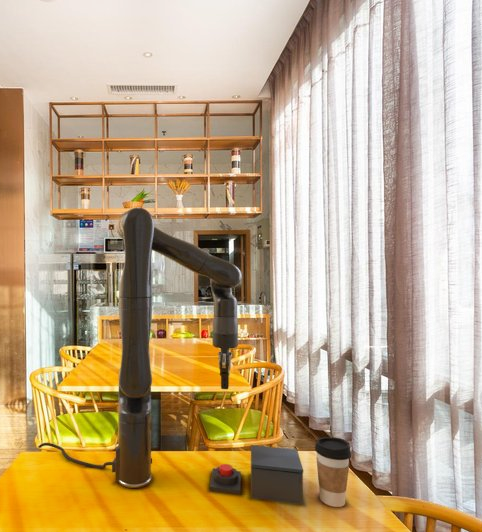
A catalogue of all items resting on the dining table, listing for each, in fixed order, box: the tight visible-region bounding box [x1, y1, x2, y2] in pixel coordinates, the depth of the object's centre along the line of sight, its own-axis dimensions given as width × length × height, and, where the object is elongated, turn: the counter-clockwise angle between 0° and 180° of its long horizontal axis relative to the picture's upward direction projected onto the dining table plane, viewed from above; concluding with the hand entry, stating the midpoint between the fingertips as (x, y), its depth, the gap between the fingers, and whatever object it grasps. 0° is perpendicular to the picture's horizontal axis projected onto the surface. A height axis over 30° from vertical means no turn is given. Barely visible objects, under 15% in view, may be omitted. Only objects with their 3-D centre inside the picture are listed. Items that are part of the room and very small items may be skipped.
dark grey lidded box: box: [250, 466, 304, 506], centre depth 107 cm, size 12×13×8 cm
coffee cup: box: [314, 436, 352, 508], centre depth 102 cm, size 8×8×15 cm
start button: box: [218, 463, 234, 476], centre depth 109 cm, size 4×4×2 cm
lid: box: [250, 444, 304, 474], centre depth 106 cm, size 12×13×1 cm
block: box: [209, 466, 242, 496], centre depth 109 cm, size 8×10×3 cm
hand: (224, 388), depth 119 cm, fingers closed
